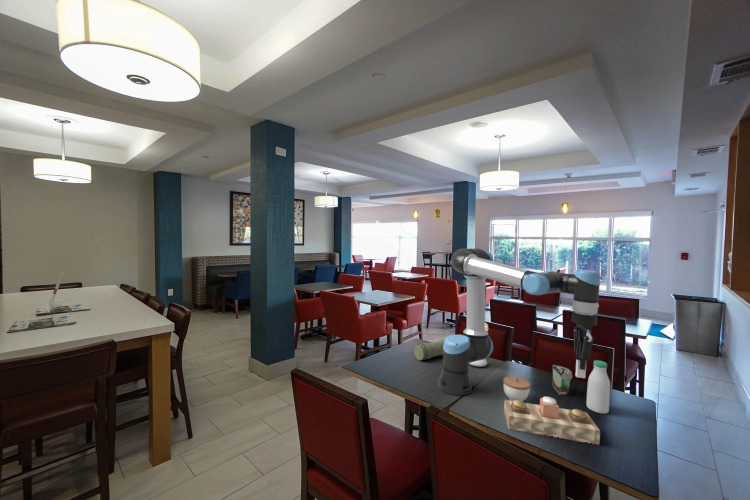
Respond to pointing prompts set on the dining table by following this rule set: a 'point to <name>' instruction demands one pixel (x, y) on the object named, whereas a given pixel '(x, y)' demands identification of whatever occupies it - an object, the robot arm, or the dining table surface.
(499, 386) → the dining table surface
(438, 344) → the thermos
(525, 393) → the lidded jar
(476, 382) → the dining table surface
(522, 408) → the left button
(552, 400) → the middle button
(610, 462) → the dining table surface
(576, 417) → the right button
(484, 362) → the flower in vase
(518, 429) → the button mount
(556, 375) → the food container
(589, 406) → the milk bottle
